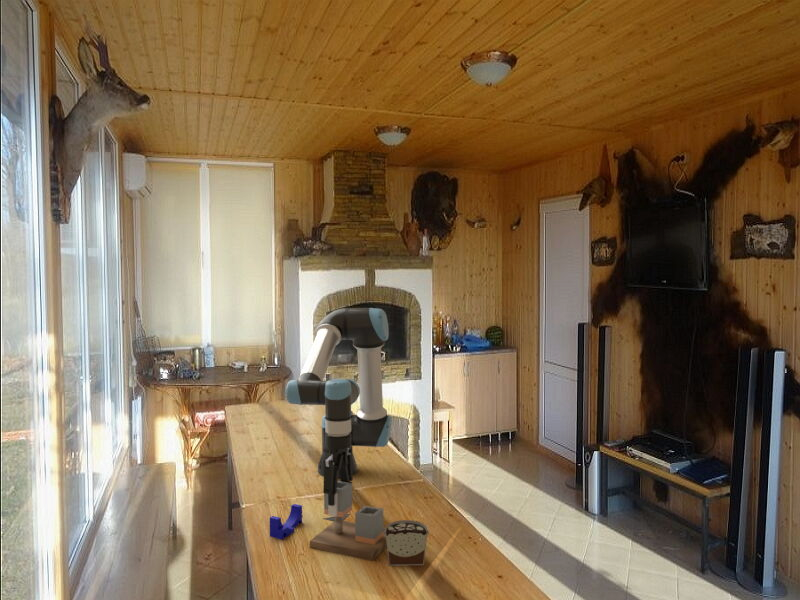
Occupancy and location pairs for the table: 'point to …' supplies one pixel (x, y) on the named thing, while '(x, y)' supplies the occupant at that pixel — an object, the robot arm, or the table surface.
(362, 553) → the pin board
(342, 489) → the sleeve
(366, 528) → the seated sleeve
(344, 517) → the mat
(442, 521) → the table surface
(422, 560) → the brown grey rounded block
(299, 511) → the cable clip
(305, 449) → the table surface
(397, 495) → the table surface
